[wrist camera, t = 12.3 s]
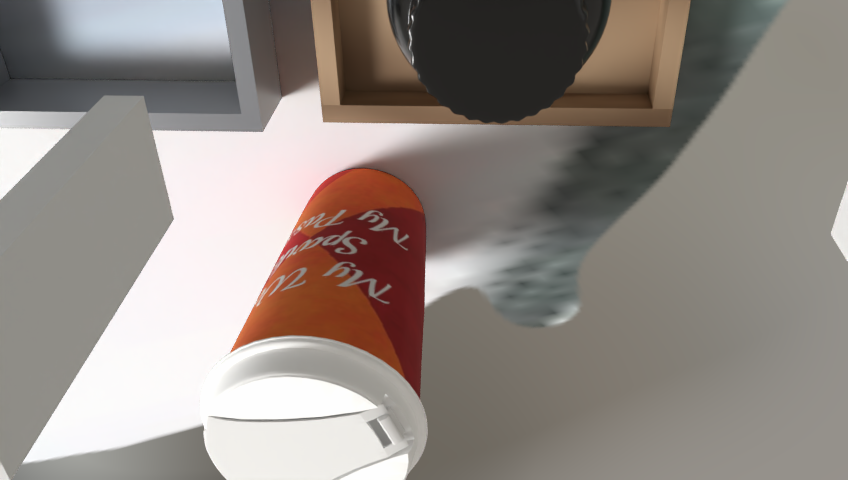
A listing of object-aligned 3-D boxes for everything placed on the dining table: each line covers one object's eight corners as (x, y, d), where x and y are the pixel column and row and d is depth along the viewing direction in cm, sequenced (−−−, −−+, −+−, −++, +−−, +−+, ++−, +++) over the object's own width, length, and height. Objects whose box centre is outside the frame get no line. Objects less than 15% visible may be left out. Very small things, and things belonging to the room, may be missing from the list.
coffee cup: (407, 122, 36) (358, 337, 24) (473, 258, 40) (461, 503, 28) (253, 179, 39) (136, 402, 26) (330, 302, 43) (260, 546, 30)
